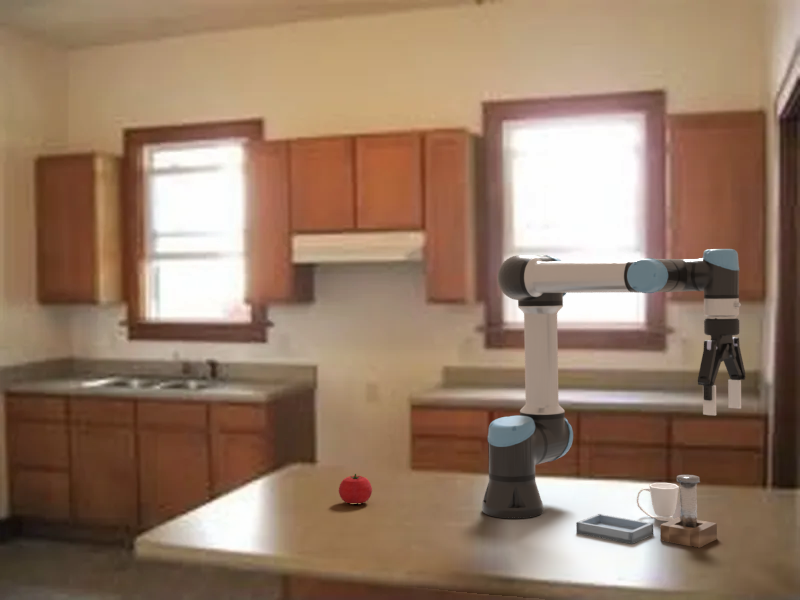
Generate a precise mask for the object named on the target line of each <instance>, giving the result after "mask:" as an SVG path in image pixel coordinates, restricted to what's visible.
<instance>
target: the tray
mask: <svg viewBox="0 0 800 600" xmlns="http://www.w3.org/2000/svg"><path fill="white" fill-rule="evenodd" d="M575 525H576V534H577V535H579V534H580V535H583V536H585V535H586V536H588V537H589V536H590V537H595V538H600V539H604V540H609V541H615V542H620V543H624V544H629V545H633V544H635V543H637V542H640V541H641V540H644V539H647V538H649V537H651V536H654V523H653V522H647V521H643V520H636V519H630V518H625V517H620V516H619V517H618V516H614V515H613V516H612V515H608V514H602V513H597V514H595V515H593V516H590V517H587V518H584V519H582V520H578V521H576V524H575Z"/></svg>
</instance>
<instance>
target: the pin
mask: <svg viewBox="0 0 800 600" xmlns="http://www.w3.org/2000/svg"><path fill="white" fill-rule="evenodd" d="M676 482H677V483H679V517H680V526H685V527H691V528H695V527H697V520H698V500H697V499H698V493H697V490H698V487H697V485H698V484H699V483H700V476H697V475H694V474H679V475H676Z"/></svg>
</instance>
